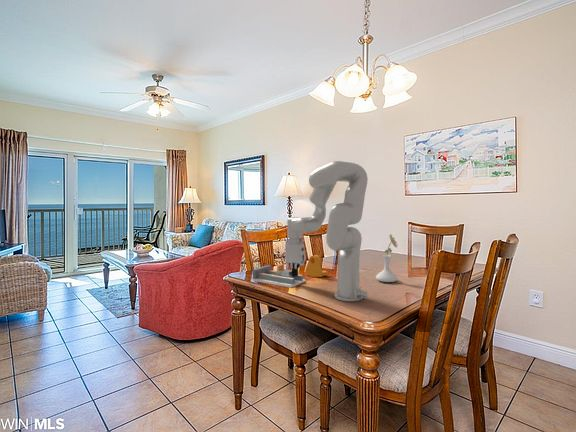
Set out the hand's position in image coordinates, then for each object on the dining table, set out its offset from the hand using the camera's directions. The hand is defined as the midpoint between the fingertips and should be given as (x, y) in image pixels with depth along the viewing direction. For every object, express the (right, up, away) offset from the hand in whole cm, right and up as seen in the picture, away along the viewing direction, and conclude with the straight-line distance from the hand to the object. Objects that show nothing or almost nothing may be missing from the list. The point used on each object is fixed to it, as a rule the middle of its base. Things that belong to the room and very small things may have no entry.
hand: (295, 275), depth 163 cm
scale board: (-9, -4, +6) cm, 11 cm away
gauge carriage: (-5, -3, +3) cm, 7 cm away
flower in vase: (+50, -4, +5) cm, 50 cm away
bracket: (+13, -4, +18) cm, 22 cm away
